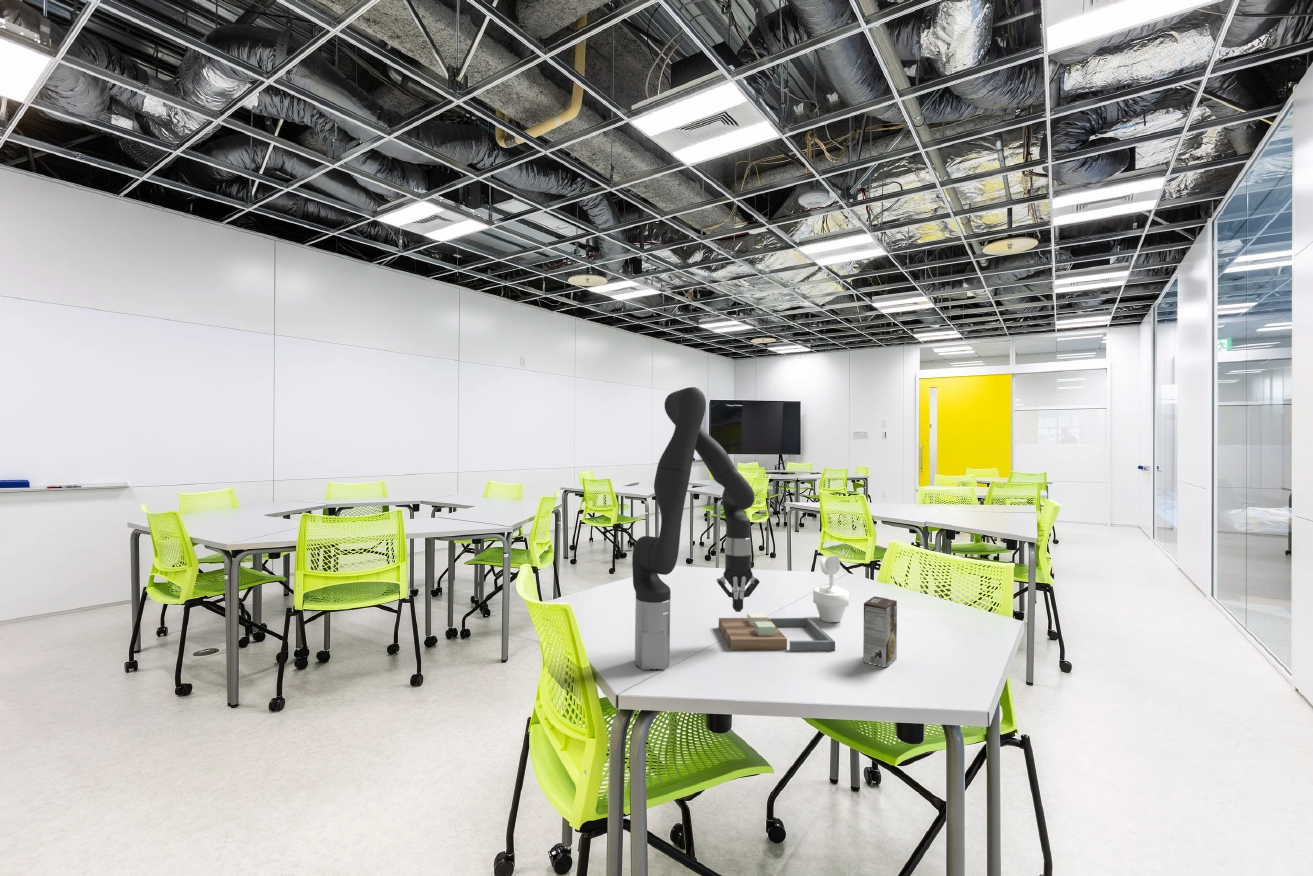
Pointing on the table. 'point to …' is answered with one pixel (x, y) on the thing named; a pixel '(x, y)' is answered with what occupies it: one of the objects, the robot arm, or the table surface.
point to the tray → (824, 640)
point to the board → (749, 636)
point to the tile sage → (764, 628)
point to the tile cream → (756, 618)
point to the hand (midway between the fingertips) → (737, 611)
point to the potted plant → (830, 592)
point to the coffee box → (880, 631)
